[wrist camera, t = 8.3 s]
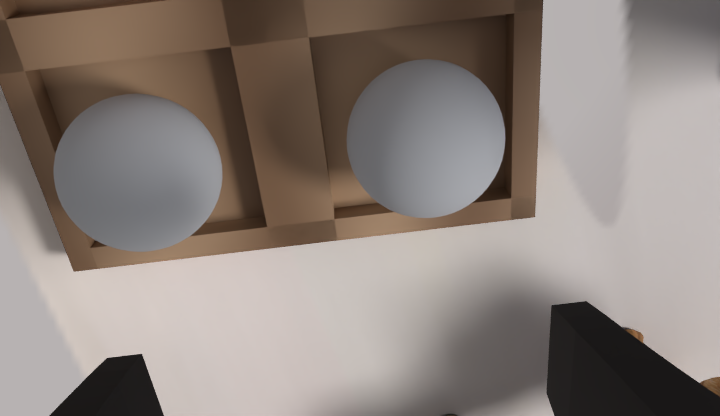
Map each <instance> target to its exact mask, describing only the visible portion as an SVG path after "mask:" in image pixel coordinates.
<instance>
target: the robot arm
mask: <svg viewBox="0 0 720 416" xmlns="http://www.w3.org/2000/svg"><path fill="white" fill-rule="evenodd" d="M547 395H548V398H549V401H550V404H551V407H552V410H553V413H554V416H720V397H719V396H718V395H716V394H715V393H713V392H712V391H710V390H709V389H707V388H706V387H704V386H703V385H701V384H700V383H698V382H697V381H696V380H694V379H693V378H691V377H690V376H688V375H687V374H685V373H684V372H683V371H681V370H680V369H678V368H677V367H675V366H674V365H673V364H671V363H670V362H668V361H667V360H666V359H664V358H663V357H661V356H660V355H659V354H657V353H656V352H655V351H653V350H652V349H650V348H649V347H648V346H646V345H645V344H644V343H642V342H641V341H640V340H638V339H637V338H635V337H634V336H633V335H631V334H630V333H629V332H627V331H626V330H625V329H623V328H622V327H621V326H619V325H618V324H617V323H615V322H614V321H613V320H611V319H610V318H609V317H607V316H606V315H605V314H603V313H602V312H601V311H599V310H598V309H596V308H595V307H594V306H592V305H591V304H589V303H588V302H587V301H585V302H576V303H568V304H560V305H552V307H551V325H550V342H549V360H548V378H547ZM50 416H164V415H163V412H162V409H161V406H160V404H159V401H158V398H157V395H156V392H155V390H154V387H153V384H152V381H151V378H150V376H149V373H148V370H147V367H146V364H145V362H144V359H143V356H142V354H137V355H129V356H121V357H112V358H107V359H106V360H105V361H104V362H103V363H101V364H100V365H99V366H98V367H97V368H96V369H95V370H94V371H93V372H92V373H91V374H90V375H89V376H88V377H87V378H86V379H85V380H84V381H83V382H82V383H81V384H80V385H79V386H78V387H77V388H76V389H75V390H74V391H73V392H72V393H71V394H70V395H69V396H68V397H67V398H66V399H65V400H64V401H63V402H62V403H61V404H60V405H59V406H58V407H57V408H56V410H55V411H54V412H53V413H52V414H51V415H50Z"/></svg>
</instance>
